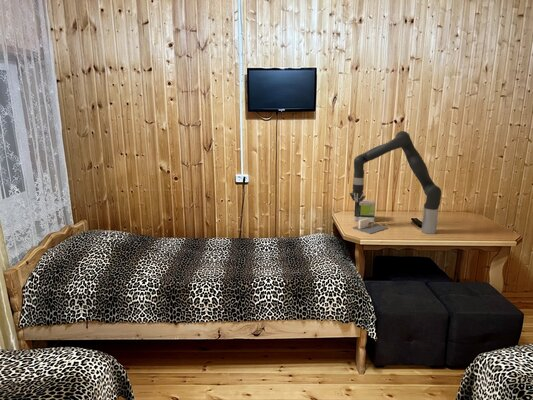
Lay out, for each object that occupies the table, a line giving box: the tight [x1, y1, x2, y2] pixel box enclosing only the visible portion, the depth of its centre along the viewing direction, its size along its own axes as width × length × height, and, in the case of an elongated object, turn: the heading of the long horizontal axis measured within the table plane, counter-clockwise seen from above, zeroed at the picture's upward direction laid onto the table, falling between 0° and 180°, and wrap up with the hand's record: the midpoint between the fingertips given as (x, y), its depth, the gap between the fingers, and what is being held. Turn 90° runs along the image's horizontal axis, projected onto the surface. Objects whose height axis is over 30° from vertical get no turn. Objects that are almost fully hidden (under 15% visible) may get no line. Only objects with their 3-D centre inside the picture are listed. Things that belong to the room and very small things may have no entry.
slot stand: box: [368, 220, 379, 227], centre depth 279 cm, size 7×6×2 cm
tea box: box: [353, 199, 376, 222], centre depth 292 cm, size 15×10×15 cm, turn 76°
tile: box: [357, 218, 369, 229], centre depth 273 cm, size 6×2×9 cm
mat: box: [352, 224, 389, 235], centre depth 273 cm, size 20×16×1 cm
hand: (356, 206), depth 275 cm, fingers closed
